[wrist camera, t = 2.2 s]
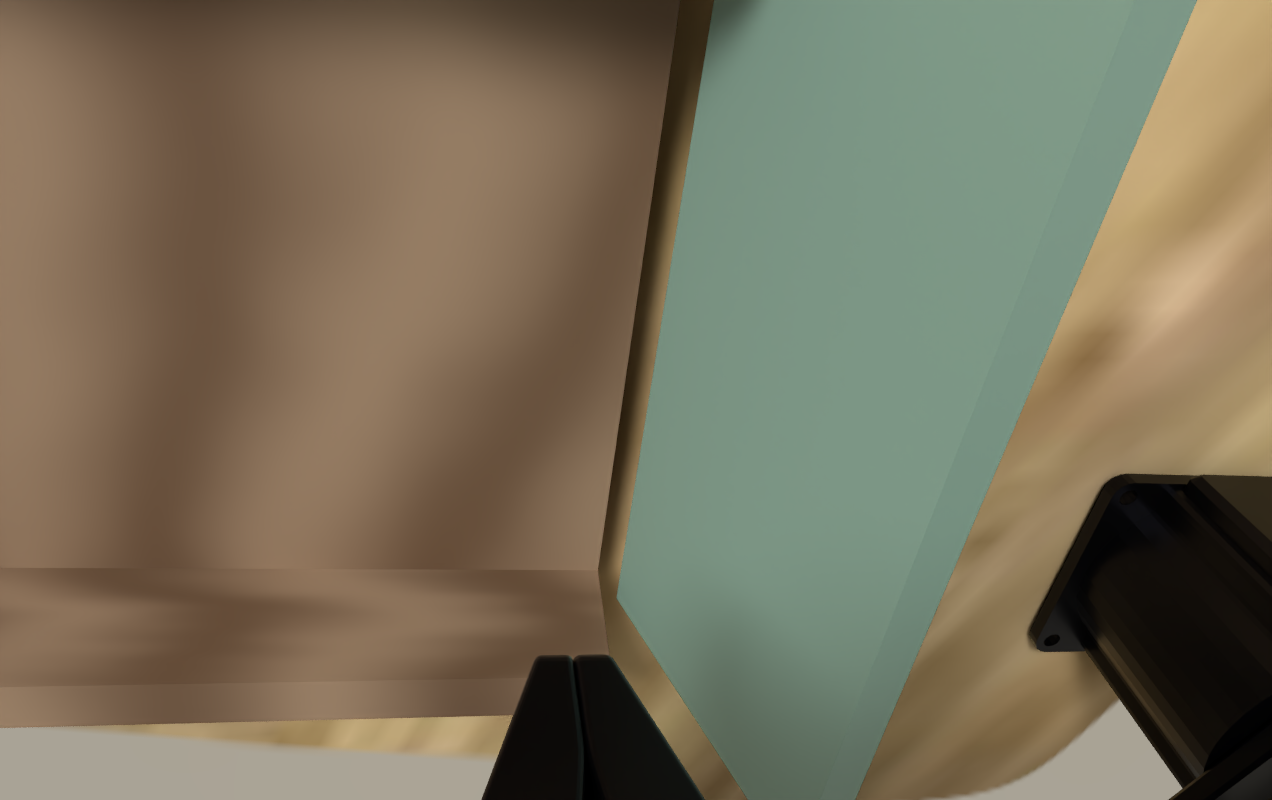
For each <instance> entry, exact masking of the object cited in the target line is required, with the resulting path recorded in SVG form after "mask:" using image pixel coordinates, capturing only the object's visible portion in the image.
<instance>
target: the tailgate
mask: <svg viewBox="0 0 1272 800" xmlns="http://www.w3.org/2000/svg"><path fill="white" fill-rule="evenodd" d="M1196 2H1197V0H714V4H713V10H712V16H711V22H710V29H709V35H708V41H707V47H706V53H705V59H704V65H703V71H702V77H701V84H700V90H699V96H698V102H697V108H696V114H695V120H694V126H693V133H692V139H691V145H690V151H689V157H688V163H687V169H686V175H685V182H684V188H683V194H682V200H681V206H680V212H679V218H678V224H677V231H676V237H675V243H674V249H673V255H672V261H671V267H670V273H669V280H668V286H667V292H666V298H665V304H664V310H663V316H662V322H661V329H660V335H659V341H658V347H657V353H656V359H655V365H654V371H653V378H652V384H651V390H650V396H649V402H648V408H647V414H646V420H645V426H644V433H643V439H642V445H641V451H640V457H639V463H638V469H637V475H636V482H635V488H634V494H633V500H632V506H631V512H630V518H629V524H628V531H627V537H626V543H625V549H624V555H623V561H622V567H621V573H620V580H619V586H618V592H617V600H618V601H619V603H620V604H621V606H622V607H623V609H624V611H625V612H626V614H627V615H628V617H629V618H630V620H631V621H632V623H633V624H634V626H635V627H636V629H637V630H638V632H639V634H640V635H641V637H642V638H643V640H644V641H645V643H646V644H647V646H648V647H649V649H650V650H651V652H652V653H653V655H654V657H655V658H656V660H657V661H658V663H659V664H660V666H661V667H662V669H663V670H664V672H665V673H666V675H667V676H668V678H669V680H670V681H671V683H672V684H673V686H674V687H675V689H676V690H677V692H678V693H679V695H680V696H681V698H682V699H683V701H684V703H685V704H686V706H687V707H688V709H689V710H690V712H691V713H692V715H693V716H694V718H695V719H696V721H697V722H698V724H699V726H700V727H701V729H702V730H703V732H704V733H705V735H706V736H707V738H708V739H709V741H710V742H711V744H712V745H713V747H714V749H715V750H716V752H717V753H718V755H719V756H720V758H721V759H722V761H723V762H724V764H725V765H726V767H727V768H728V770H729V772H730V773H731V775H732V776H733V778H734V779H735V781H736V782H737V784H738V785H739V787H740V788H741V790H742V791H743V793H744V795H745V796H746V798H747V799H748V800H855V799H856V797H857V794H858V792H859V790H860V787H861V785H862V783H863V780H864V778H865V776H866V773H867V771H868V769H869V766H870V764H871V762H872V759H873V757H874V755H875V752H876V750H877V748H878V745H879V743H880V741H881V738H882V736H883V734H884V731H885V729H886V727H887V724H888V722H889V720H890V717H891V715H892V713H893V710H894V708H895V706H896V703H897V701H898V698H899V696H900V694H901V691H902V689H903V687H904V684H905V682H906V680H907V677H908V675H909V673H910V670H911V668H912V666H913V663H914V661H915V659H916V656H917V654H918V652H919V649H920V647H921V645H922V642H923V640H924V638H925V635H926V633H927V631H928V628H929V626H930V624H931V621H932V619H933V617H934V614H935V612H936V610H937V607H938V605H939V603H940V600H941V598H942V596H943V593H944V591H945V589H946V586H947V584H948V582H949V579H950V577H951V575H952V572H953V570H954V568H955V565H956V563H957V561H958V558H959V556H960V553H961V551H962V549H963V546H964V544H965V542H966V539H967V537H968V535H969V532H970V530H971V528H972V525H973V523H974V521H975V518H976V516H977V514H978V511H979V509H980V507H981V504H982V502H983V500H984V497H985V495H986V493H987V490H988V488H989V486H990V483H991V481H992V479H993V476H994V474H995V472H996V469H997V467H998V465H999V462H1000V460H1001V458H1002V455H1003V453H1004V451H1005V448H1006V446H1007V444H1008V441H1009V439H1010V437H1011V434H1012V432H1013V430H1014V427H1015V425H1016V423H1017V420H1018V418H1019V415H1020V413H1021V411H1022V408H1023V406H1024V404H1025V401H1026V399H1027V397H1028V394H1029V392H1030V390H1031V387H1032V385H1033V383H1034V380H1035V378H1036V376H1037V373H1038V371H1039V369H1040V366H1041V364H1042V362H1043V359H1044V357H1045V355H1046V352H1047V350H1048V348H1049V345H1050V343H1051V341H1052V338H1053V336H1054V334H1055V331H1056V329H1057V327H1058V324H1059V322H1060V320H1061V317H1062V315H1063V313H1064V310H1065V308H1066V306H1067V303H1068V301H1069V299H1070V296H1071V294H1072V292H1073V289H1074V287H1075V285H1076V282H1077V280H1078V278H1079V275H1080V273H1081V270H1082V268H1083V266H1084V263H1085V261H1086V259H1087V256H1088V254H1089V252H1090V249H1091V247H1092V245H1093V242H1094V240H1095V238H1096V235H1097V233H1098V231H1099V228H1100V226H1101V224H1102V221H1103V219H1104V217H1105V214H1106V212H1107V210H1108V207H1109V205H1110V203H1111V200H1112V198H1113V196H1114V193H1115V191H1116V189H1117V186H1118V184H1119V182H1120V179H1121V177H1122V175H1123V172H1124V170H1125V168H1126V165H1127V163H1128V161H1129V158H1130V156H1131V154H1132V151H1133V149H1134V147H1135V144H1136V142H1137V140H1138V137H1139V135H1140V132H1141V130H1142V128H1143V125H1144V123H1145V121H1146V118H1147V116H1148V114H1149V111H1150V109H1151V107H1152V104H1153V102H1154V100H1155V97H1156V95H1157V93H1158V90H1159V88H1160V86H1161V83H1162V81H1163V79H1164V76H1165V74H1166V72H1167V69H1168V67H1169V65H1170V62H1171V60H1172V58H1173V55H1174V53H1175V51H1176V48H1177V46H1178V44H1179V41H1180V39H1181V37H1182V34H1183V32H1184V30H1185V27H1186V25H1187V23H1188V20H1189V18H1190V16H1191V13H1192V11H1193V9H1194V6H1195V4H1196Z"/></svg>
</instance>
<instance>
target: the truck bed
mask: <svg viewBox="0 0 1272 800" xmlns="http://www.w3.org/2000/svg"><path fill="white" fill-rule="evenodd" d="M679 6H680V0H0V728H15V727H55V726H96V725H136V724H176V723H216V722H256V721H296V720H336V719H376V718H416V717H456V716H496V715H514V712H515V709H516V707H517V704H518V701H519V699H520V696H521V694H522V691H523V688H524V686H525V683H526V680H527V678H528V675H529V672H530V670H531V667H532V664H533V662H534V660H535V658H536V657H538V656H539V655H569V656H570V657H571V658H572V659H574V658H575V657H576V656H577V655H584V654H605V655H609V648H608V641H607V633H606V626H605V619H604V612H603V604H602V597H601V590H600V583H599V575H598V565H599V558H600V552H601V545H602V538H603V531H604V524H605V517H606V510H607V503H608V496H609V489H610V483H611V476H612V469H613V462H614V455H615V448H616V441H617V434H618V427H619V420H620V414H621V407H622V400H623V393H624V386H625V379H626V372H627V365H628V358H629V351H630V345H631V338H632V331H633V324H634V317H635V310H636V303H637V296H638V289H639V282H640V275H641V269H642V262H643V255H644V248H645V241H646V234H647V227H648V220H649V213H650V206H651V200H652V193H653V186H654V179H655V172H656V165H657V158H658V151H659V144H660V137H661V131H662V124H663V117H664V110H665V103H666V96H667V89H668V82H669V75H670V68H671V62H672V55H673V48H674V41H675V34H676V27H677V20H678V13H679ZM609 656H610V655H609Z"/></svg>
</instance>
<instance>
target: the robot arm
mask: <svg viewBox="0 0 1272 800" xmlns="http://www.w3.org/2000/svg"><path fill="white" fill-rule="evenodd" d="M1029 636H1030V639H1031V640H1032V642H1033V643H1034V645H1035V646H1036V648H1037V649H1038V650H1040V651H1044V652H1071V651H1086V652H1087V654H1088V655H1089V657H1090V658H1091V659H1092V661H1093V662H1094V664H1095V665H1096V667H1097V668H1098V669H1099V671H1100V672H1101V674H1102V675H1103V676H1104V678H1105V679H1106V681H1107V682H1108V683H1109V685H1110V686H1111V688H1112V689H1113V691H1114V692H1115V693H1116V695H1117V696H1118V698H1119V699H1120V700H1121V702H1122V703H1123V705H1124V706H1125V707H1126V709H1127V710H1128V712H1129V713H1130V715H1131V716H1132V717H1133V719H1134V720H1135V722H1136V723H1137V724H1138V726H1139V727H1140V729H1141V730H1142V731H1143V733H1144V734H1145V736H1146V737H1147V739H1148V740H1149V741H1150V743H1151V744H1152V746H1153V747H1154V748H1155V750H1156V751H1157V753H1158V754H1159V755H1160V757H1161V758H1162V760H1163V761H1164V762H1165V764H1166V765H1167V767H1168V768H1169V770H1170V771H1171V772H1172V773H1173V775H1174V777H1175V778H1176V779H1177V781H1178V782H1179V784H1180V785H1181V787H1182V788H1183V789H1182V790H1180V791H1179V792H1178V793H1177V794H1175V795H1174V796H1173V797H1171V798H1170V799H1169V800H1272V477H1262V476H1224V475H1200V476H1190V475H1152V474H1123V475H1119V476H1117V477H1114V478H1113V479H1111V480H1110V481H1109V482H1108V483H1107V484H1106V485H1105V487H1104V488H1103V490H1102V492H1101V494H1100V496H1099V498H1098V500H1097V502H1096V504H1095V506H1094V508H1093V509H1092V511H1091V513H1090V515H1089V517H1088V519H1087V521H1086V523H1085V525H1084V527H1083V529H1082V531H1081V533H1080V535H1079V537H1078V539H1077V541H1076V543H1075V545H1074V546H1073V548H1072V550H1071V552H1070V554H1069V556H1068V558H1067V560H1066V562H1065V564H1064V566H1063V568H1062V570H1061V572H1060V574H1059V576H1058V578H1057V580H1056V582H1055V583H1054V585H1053V587H1052V589H1051V591H1050V593H1049V595H1048V597H1047V599H1046V601H1045V603H1044V605H1043V607H1042V609H1041V611H1040V613H1039V615H1038V617H1037V619H1036V620H1035V622H1034V624H1033V626H1032V628H1031V630H1030V634H1029ZM482 800H705V799H704V797H703V796H702V794H701V793H700V791H699V790H698V788H697V787H696V785H695V783H694V782H693V780H692V779H691V777H690V776H689V774H688V773H687V771H686V770H685V768H684V767H683V765H682V764H681V762H680V760H679V759H678V757H677V756H676V754H675V753H674V751H673V750H672V748H671V747H670V745H669V744H668V742H667V741H666V739H665V737H664V736H663V734H662V733H661V731H660V730H659V728H658V727H657V725H656V724H655V722H654V721H653V719H652V718H651V716H650V714H649V713H648V711H647V710H646V708H645V707H644V705H643V704H642V702H641V701H640V699H639V698H638V696H637V695H636V693H635V691H634V690H633V688H632V687H631V685H630V684H629V682H628V681H627V679H626V678H625V676H624V675H623V673H622V672H621V670H620V668H619V667H618V665H617V664H616V662H615V661H614V660H613V658H612V657H610V656H609V655H605V654H584V655H577V656H576V657H575V658H574V659H572V658H571V657H570V656H569V655H539V656H538V657H536V658H535V660H534V662H533V664H532V667H531V670H530V672H529V675H528V678H527V680H526V683H525V686H524V688H523V691H522V694H521V696H520V699H519V701H518V704H517V707H516V709H515V712H514V715H513V717H512V720H511V723H510V725H509V728H508V731H507V733H506V736H505V739H504V741H503V744H502V747H501V749H500V752H499V755H498V757H497V760H496V762H495V765H494V768H493V770H492V773H491V776H490V778H489V781H488V784H487V786H486V789H485V792H484V794H483V797H482Z"/></svg>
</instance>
